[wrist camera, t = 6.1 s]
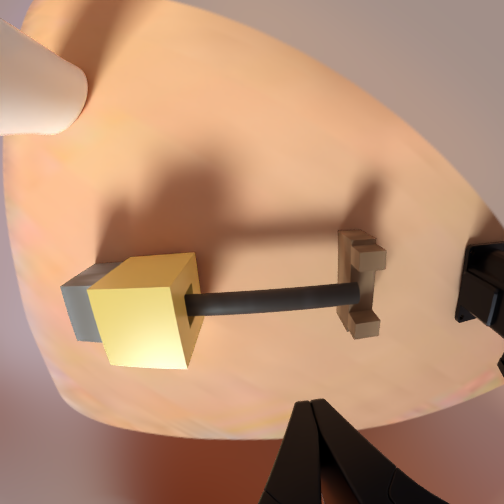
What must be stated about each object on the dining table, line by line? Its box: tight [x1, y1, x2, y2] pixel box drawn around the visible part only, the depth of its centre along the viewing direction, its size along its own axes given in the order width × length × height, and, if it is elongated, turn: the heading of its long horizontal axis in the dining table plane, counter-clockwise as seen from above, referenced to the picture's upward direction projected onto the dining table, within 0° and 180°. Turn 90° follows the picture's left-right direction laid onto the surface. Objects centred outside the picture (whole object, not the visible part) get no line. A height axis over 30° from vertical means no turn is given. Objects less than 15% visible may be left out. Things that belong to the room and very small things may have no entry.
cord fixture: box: [60, 230, 386, 343], centre depth 16 cm, size 18×6×4 cm, turn 94°
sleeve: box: [87, 252, 204, 369], centre depth 15 cm, size 4×4×6 cm
